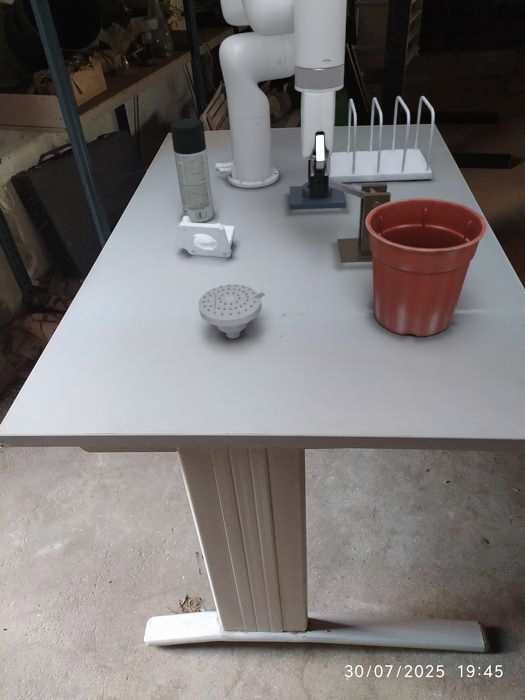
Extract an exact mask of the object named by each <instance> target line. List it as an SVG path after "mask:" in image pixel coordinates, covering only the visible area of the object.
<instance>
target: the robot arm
mask: <svg viewBox="0 0 525 700" xmlns="http://www.w3.org/2000/svg"><path fill="white" fill-rule="evenodd" d="M347 2H348V1H347V0H220V7H221V11H222V16H223V18H224V20H225V22H226V23H227V24H229V25H231V26H235V27H237V26H238V27H242V26H250V28H251V29H252V31H250V32H242V33H236V34H233V35H230V36H228V37H226V38H224V39H223V41H221V44H220V46H219V50H218V58H219V59H218V60H219V64H220V69H221V72H222V77H223V82H224V87H225V93H226V102H227V111H228V112H227V113H228V120H229V121H228V122H229V132H230V133H229V134H230V144H231V155H232V157H231V161H228V162H215V165H214V167H215V172H219V174H220V175H221V174H222V175H223V174H228V175H227V181H228V183H229V184H230V185H232V186H234V187H237V188H242V189H258V188H263V187H267V186H270V185H272V184H274V183H276V182H277V181H278V180H279V177H280V175H279V174H280V173H279V171H278V169H276V168H274V167H273V157H272V155H273V154H272V153H273V152H272V134H271V133H272V132H271V131H272V129H271V111H270V102H269V99H268V97H267V95H266V93H265V92H263V90H261V88H259V85H258V83H260V82H264V81H265V82H266V81H271V80H279V79H280V80H281V79H286V78H289V77H292V76H293V75H294V89H295V91H297V92H301V96H300V145H301V146H300V148H301V150H300V151H301V157H302V158H303V159H305V160H306V159H307V158H309V159H308V160H307V182H309V197H310V198H311V199H316V198H327V197H328V188H329V174H328V158H329V157H330V156H331V155H332V152H333V148H334V138H335V137H334V136H335V121H336V93H337V91H340V90H341V89H343V88H344V81H345V80H344V79H345V55H346V27H347V26H346V25H347V4H348V3H347Z"/></svg>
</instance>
